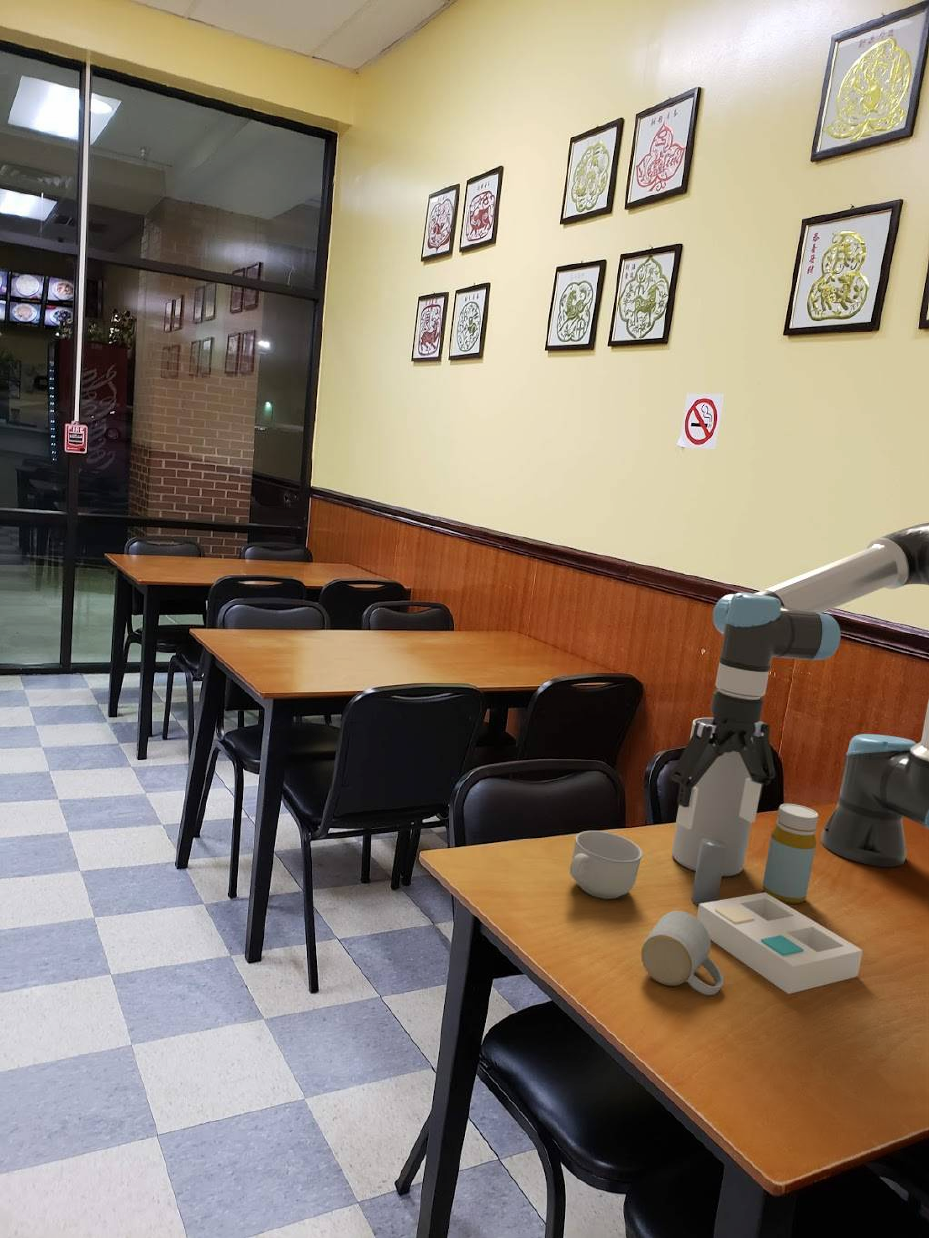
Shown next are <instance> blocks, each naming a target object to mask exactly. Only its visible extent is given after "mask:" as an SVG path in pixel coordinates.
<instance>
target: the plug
mask: <svg viewBox="0 0 929 1238" xmlns="http://www.w3.org/2000/svg"><path fill="white" fill-rule="evenodd" d="M726 848H727V845H726V844H725V843H723V842H721V841H719V840H716V839H710V838H705V839H702V840H701V844H700V850H699V856H698V862H697V868H696V871H695V873H694V875H695V876H694V882H693V886H692V887H693V888H692V894H691V902H692V903H694V904H695V905H697V906H698V907H699V904H701V903H707V902H713V901H718V900H719V895H720V888H721V887H720V886H721V882H722V877H723V876H722V872H723V866H724V860H725V854H726Z"/></svg>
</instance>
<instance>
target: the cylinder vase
mask: <svg viewBox="0 0 929 1238" xmlns="http://www.w3.org/2000/svg"><path fill="white" fill-rule="evenodd" d="M698 721H700V722H702V723H704V724H709V725H711V723H712V721H713V717H700V718H695V719H693V721H692V725H691V731H690V739H691V737H692V735H693V732H694V728H695V724H696V723H697V722H698ZM690 739H689V740H690ZM751 740H752V742H753V738H752V737H751ZM713 746H715V744H713ZM754 751H755V750H754ZM746 778H750V779H752V778H751V777H750V775H749V772H748V770H747V768H746V766H745V764H744V762H743V760H742V758H741V755H740V753H739V752H735V751H733V752H730V753H726V752H725V753H724V754H723V755H722V756H719V757H718V758H717V759H716V760H715V761H714V763H713V764H712V765H711V766H710V768H709V769H708V770H707V771H706V773H705V774H704V775H703V776H702V778H701V779H700V780H699V781H698V783H697V784H696V785H695V786H694V787H696V788H698V795H697V800H696V806H695V812H694V817H693V823H692V829H686V828H685V827H683V826H681V825H679V824H678V823H676V822H675V823H676V824H675V831H674V836H673V841H672V849H671V854H672V856H673V858H674V860H676V862H678V863H679V864H680V865H681V866H683V867H685V868H687V869H689V870H691V871H694V872H696V868H697V862H698V856H699V850H700V844H701V840H702V839H705V838H710V839H716V840H719V841H721V842H723V843H725V844H726V845H727V848H726V854H725V860H724V866H723V872H722V877H731V876H735V875H738V874H739V873H741V872H742V871H743V869H744V866H745V862H746V855H747V849H748V844H749V838H750V834H751V833H750V832H751V826H752V823H751V822H749V821H747V820H745V819H743V818H741V817H739V813H740V808H741V802H742V797H743V791H744V786H745V780H746ZM689 779H691V777H689Z"/></svg>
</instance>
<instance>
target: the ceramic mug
mask: <svg viewBox="0 0 929 1238" xmlns="http://www.w3.org/2000/svg"><path fill="white" fill-rule="evenodd" d="M711 941H712V940H710V937H709V934H708V932H707V930H706V928H705V927H704V925H703V924H702V923H701V922H700V921H699V920H698V919H697V916H694V915H693V914H691V913H688V912H686V911H681V910H673V911H669V912H667V913H665V914H663V916H661V918H660V919H659V921H658V922H657V923H656V925H655V926H654V927H653V929H652V930H651V932H650V933H649V934H648V935H647V937H646V939H645V940H644V942H643V945H642V948H641V954H640V955H641V963H642V964H643V967H644V970H645V971H646V972H647V974H648V975H649V976H650V977H651V978H652V979H653V980H655V982H657V983H660V984H662V985H664V986H668V987H669V986H670V987H673V986H674V987H676V986H679V985H682V984H684V983H687V984H689V986H690V987H692V988H693V989H694V990H695V991H696V992H697V991H698V992H699V993H700V994H703V995H706V996H713V995H716V994H717V993H718V992H719V991H720V990H721V988H722V987H723V986H724V982H725V981H724V980H725V979H724V976H723V974H722V972H721V970H720V968H719V967H718V966H717V964H716V963H715V962H714V961H713V959H711V958H710V956H709V955H710V953H711V952H710V951H711V944H712V942H711ZM701 966H702V967H704V968H705V970H707V972H708V973H709V974H710V976H711V977H712V979H713V981H714V983H715V985H714V986H712V985H708V984H706V983H705V982H704V981H702V980H701V979H700V978H698V977H697V976H696V975H695V973H696V972H697V971H698V970H699V968H701Z"/></svg>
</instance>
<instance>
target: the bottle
mask: <svg viewBox="0 0 929 1238" xmlns="http://www.w3.org/2000/svg"><path fill="white" fill-rule="evenodd" d="M818 819H819V814H818V812H816V810H814V809H812V808H810V807H807V806H804V805H799V804H795V803H782V804H780V805H779V807H778V812H777V819H776V825H775V826H774V828H773V830H772V831H771V834H770V840H769V844H768V845H769V846H768V852H767V856H766V863H765V869H764V874H763V878H762V879H763V880H762V886H761V887H762V890H763V892H764V893H765V892H766V893H767V894H769V895H771V896H772V897H774V898H776V899H777V900H779V901H781V902H782V903H784V904H787V905H788V904H791V905H792V904H793V905H796V904H800V903H802V902H804V901H805V899H807V895H808V889H809V883H810V879H811V873H812V868H813V862H814V857H815V851H816V847H817V839H816V835H815V834H816V830H817V829H816V828H817V824H818V821H819V820H818Z"/></svg>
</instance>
